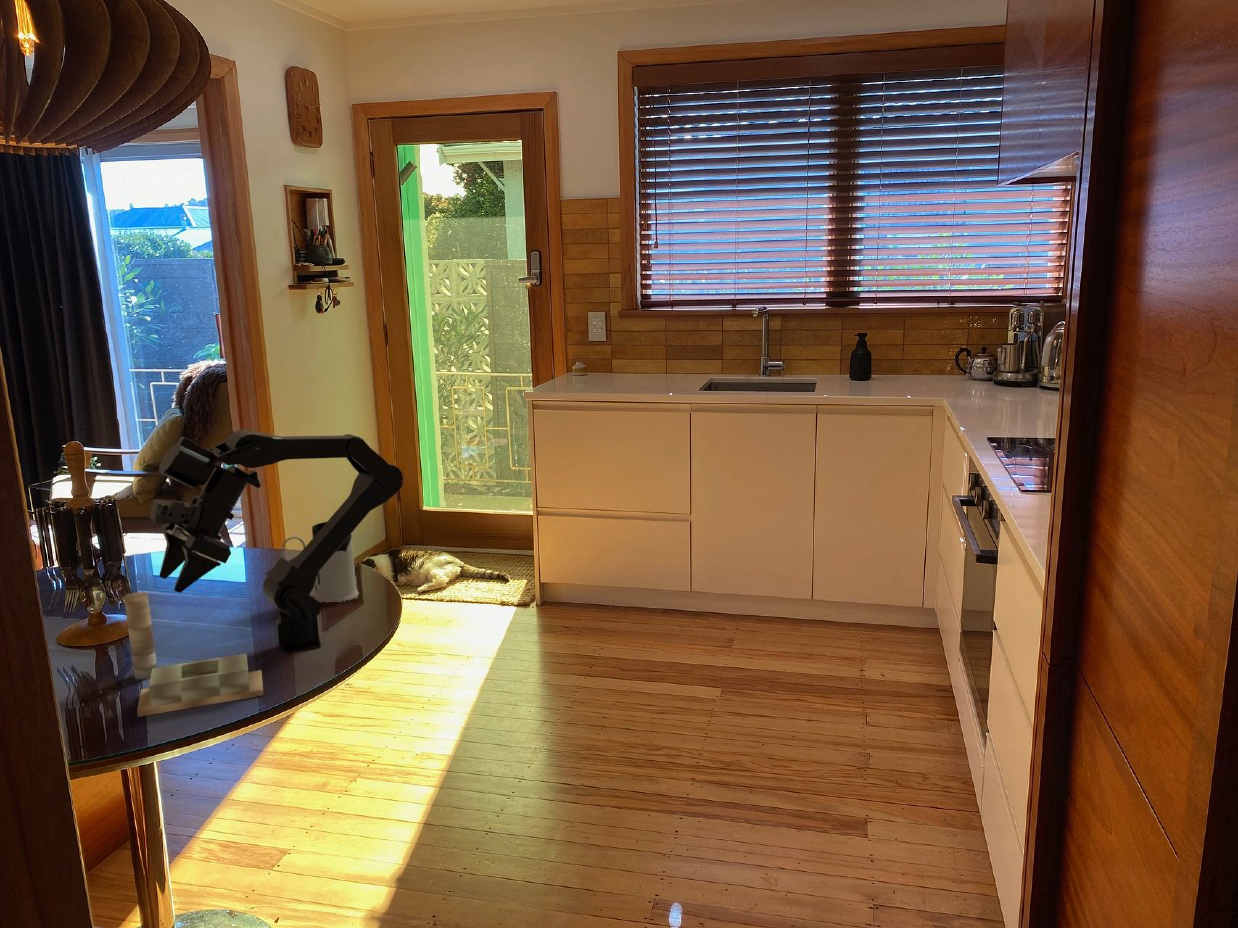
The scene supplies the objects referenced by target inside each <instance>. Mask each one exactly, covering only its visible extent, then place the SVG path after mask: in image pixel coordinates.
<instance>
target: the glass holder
mask: <svg viewBox="0 0 1238 928" xmlns="http://www.w3.org/2000/svg"><path fill="white" fill-rule="evenodd" d="M326 522H327V521H324V522H319V523H317V524H314V525H312V527H311V530H312V532H311V533H312V539H313V538H314V536H315V535H316V534H317V533H318V532H319V531H320V529H321V528H322V527H323V526H324V525H325V524H326ZM293 539H295V540H299V542H300V543H301V544H302V548H303V549H304V548H305V547H306V544H305V542H304V540H303V539H302V538H301V537H298V536H290V537H288V538H287V539H285V540H284V541H283V543H282V546H281V553H282V557H283V558H284V559H286V560H287V558H286V554H285V545H286V543H287V542H289V541H291V540H293ZM354 558H355V556H354V547H353V535H352V533H351V534H350V535H349V537H348V538H347V539H346V540H345V541H344V543H343V544H342V545H341V546H340V547H339V548H338V550H337V551H336V552H335V553H334V554H333V555H332V557H331V558H330V559H329V560H328V561H327V563H326V564H325V565H324V566H323V567H322V568H321V570H320V571H319V573H318V575H317V579H316V582H315V585H314V588H313V589H314V591H315V592H316V593H315V596H314V599H316V600H317V601H319V602H320V603H322V602H327V603H326V604H329V603H328V602H338V603H344V602H347V601H346V600H348V601H351V600H354V599H356V598H357V597H358V596H359V594H360V593H359V591H358V589H357V586H356V585H357V583H356V572H355V571H356V570H355V560H354ZM343 601H344V602H343Z"/></svg>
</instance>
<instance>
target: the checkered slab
mask: <svg viewBox="0 0 1238 928" xmlns="http://www.w3.org/2000/svg"><path fill="white" fill-rule="evenodd" d="M262 673H263V672H262V670H261V669H259V670H253V671H249V665H248V655H247V653H243V654H242V653H241V654H235V655H229V656H228V655H227V656H224V657H223V656H222V657H215V658H209V659H202V660H198V661H197V660H196V661H189V662H184V663H182V662H181V663H176V664H172V665H171V664H170V665H165V666H159V667H158V666H157V668H152V673H151V678H149V684H148V687H149V688H148V687H147V688H143V689H140V695H139V700H138V705H137V709H136V711H137V712H136V713H137V717H145V716H151V715H157V714H162V713H168V712H174V711H180V710H186V709H190V708H198V707H203V706H208V705H209V706H210V705H215V704H220V703H226V702H232V701H238V700H245V699H250V698H255V697H256V698H257V697H262V696H264V686H263V674H262Z"/></svg>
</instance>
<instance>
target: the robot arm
mask: <svg viewBox="0 0 1238 928" xmlns="http://www.w3.org/2000/svg"><path fill="white" fill-rule="evenodd" d="M342 458H343V459H345V458H346V460H347V461H348V462H349V464H350V465H351V466H352V468H353V469H354V470H355V471H356V472H357V473H358V474H357V476H356V478H355V479H354V481H353V484H352V487H351V491H350V494H349V495H348V497H347V498H346V499H345V501H344V502H343V503H342V504H341V505H340V506H339V508H338V509H336V511H335V512H334V513H333V514H332V516H331V517H330V518H329V519H328V520H327V521H325V522H326V524H325V525H324V526H323V527H322V528H321V529H320V531H319V532H318V533H317V534H316V535H315V536H314V538H313V537H312V538H311V540H310V541H309V542H308V543H307V544H306V545H305V548H303V549H302V550H301V551H300V553H299V554H297V555H296V556H294V557H292V558H291V559H290V560H287V558H286V559H284V558H283V556H282V557H280V558H278V560H277V562H276V563H275V564H274V566H273V568H271V569H270V570H269V571H267V572H266V573H265V576H267V577H266V578H265V580H264V581H263V583H262V592H263V595H264V597H265V598H266V600H268V601H269V602H270V603H272V604H273V605H274V606H276V608H277V609H278V610H279V611H278V613H279V619H277V620H276V628H277V639H278V646H279V647H280V648H281V647H282V648H281V650H282V653H289V652H296V651H303V650H310V649H316V648H321V646H322V643H321V639H320V632H319V621H318V620H319V619H318V616H319V615H320V613H321V609H322V602H319V601H317V600H316V599H315V597H313V596H312V595H310V594H311V593H312V592H313V590H314V589H315V588H314V585H315V586H316V579H317V575H318V573H319V571H320V570H321V568H322V567H323V566H324V565H325V564H326V563H327V561H328V560H329V559H330V558H331V557H332V555H333V554H334V553H335V552H336V551H337V550H338V548H339V547H340V546H341V545H342V544H343V543H344V541H345V540H346V539H347V538H348V537H349V535H350V534H352V533H353V532H354V531H355V529H356V528H357V527H358V526H359V525H360V524H361V523H362V521H363V520H364V519H365V518H366V517H367V516H368V515H369V513H370V512H371V511H373V510H375V509H376V508H379V506H381V505H384V504H386V502H388V501H390V499H392V498H393V497H394V496H395V495H396V494H398V492H400V490H401V489H402V487H403V486H404V475H403V472H402V471H401V469H400V467H397V466H396V465H395V464H390V463H388V461H386V460H385V459H384V458H383V457H382V456H381V455H380V454H378V453H377V452H376V451H375V450H374V449H373V448H372V447H370V446H369V445H368V443H367V442H366V441H365V440H364V439H363V438H362V437H360V436H357V435H355V434H349V433H347V434H343V435H305V436H304V435H301V436H300V435H299V436H297V435H296V436H281V435H275V434H271V433H270V434H269V433H264V432H258V431H253V430H252V431H251V430H246V429H238V430H236V431H235V430H234V431H233V432H231V434H229V436H228V437H227V439H226V440H224V441H222V442H221V443H218V444H216V445H214V446H212V447H209V448H207V449H206V448H205V447H202V446H200V445H199V444H197V443H195V442H193V441H192V440H191V439H189V438H187V437H184V436H180V438H179V439H178V441H177V442H176V443H174V444H173V445H172V446H171V447H170V449H168V450H167V451H166V452H165V454H164V456H163V457H162V459H161V461H160V463H159V467H158V472H159V474H161V475H163V476H166V477H168V478H170V479H173V480H174V481H176V482H179V483H181V484H183V485H185V486H188V487H189V488H192V489H194V488H196V487H198V485H199V486H203V485H204V486H203V488H202V490H201V492H200V494H199V495H198V496H197V495H194V496H192V497H190V499H189V500H188V502H183V501H182V500H179V501H177V500H176V501H175V500H174V499H171V500H164V499H163V500H162V499H153V500H152V504H151V510H150V515H149V520H150V521H151V520H152V521H153V523H154V524H158V525H161V527H162V528H163V529H164V530H163V529H162V530H161V533H162V534H163V536H164V539H165V542H166V547H165V551H164V556H163V559H162V564H161V567H160V571H159V575H158V576H159V577H160V578H161V579H164V580H166V579H167V578H168V577H170V575H172V574H173V573H174V572H175V571H176V570H177V569H178V568H179V567H181V565H182V567H181V570H180V571H179V575H178V577H177V579H176V581H175V585H174V588H173V590H174V592H176V593H179V594H181V593H182V592H183V591H185V590H186V589H187V588H189V587H190V586H192V585H193V584H194V583H196V582H197V581H199V580H200V579H201V578H203V577H204V576H205V575H207V574H208V573H209V572H211V571H213V570H214V569H215V568H217V567H220V566H221V565H222V563H223V564H226V563H227V562H228V560H229V558H230V556H231V554H232V552H231V548H230V545H228V544H227V543H226V542H224V541H222V539H223V537H222V535H220V533H221V531H222V529H223V528H224V525H225V524H226V522H227V520H230V521H232V520H233V518H234V517H235V514H233V510H234V509H235V507H236V505H237V503H238V501H239V500H240V498H241V496H242V495H243V492H244V490H245V489H246V487H247V485H248V484H249V485H251V486H253V487H254V488H258V489H260V488H261V487H262V485H261V483H260V480H259V477H258V472H257V471H256V470H253V469H256V468H259V467H266V466H270V465H273V464H277V463H280V462H283V461H288V460H309V459H313V460H314V459H342ZM217 461H218V462H221V463H222V464H224V465H227V468H225V467H223V466H220V465H218V464H216V462H217ZM238 465H240V466H243V467H245V468H247V469H248V468H249V469H251V470H249V471H245V470H244V469H242V468H240V467H237V466H238Z"/></svg>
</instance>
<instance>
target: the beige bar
mask: <svg viewBox="0 0 1238 928" xmlns="http://www.w3.org/2000/svg"><path fill="white" fill-rule="evenodd" d="M123 599H124V600H123V601H124V606H125V607H124V608H125V614H126V615H125V616H126V622H127V631H128V637H129V639H128V640H129V644H130V653H131V659H132V660H131V662H132V667H133V675H134V679H137V680H146V679H150V678H151V673H152V668H157V667H158V663H157V655H156V649H155V647H156V646H155V641H154V640H155V639H154V633H153V624H152V617H151V616H152V615H151V610H150V609H151V608H150V602H149V594H148V592H145V591H140V592H139V591H138V592H132V593H129V594H126V595H125V596H124V597H123Z"/></svg>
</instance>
